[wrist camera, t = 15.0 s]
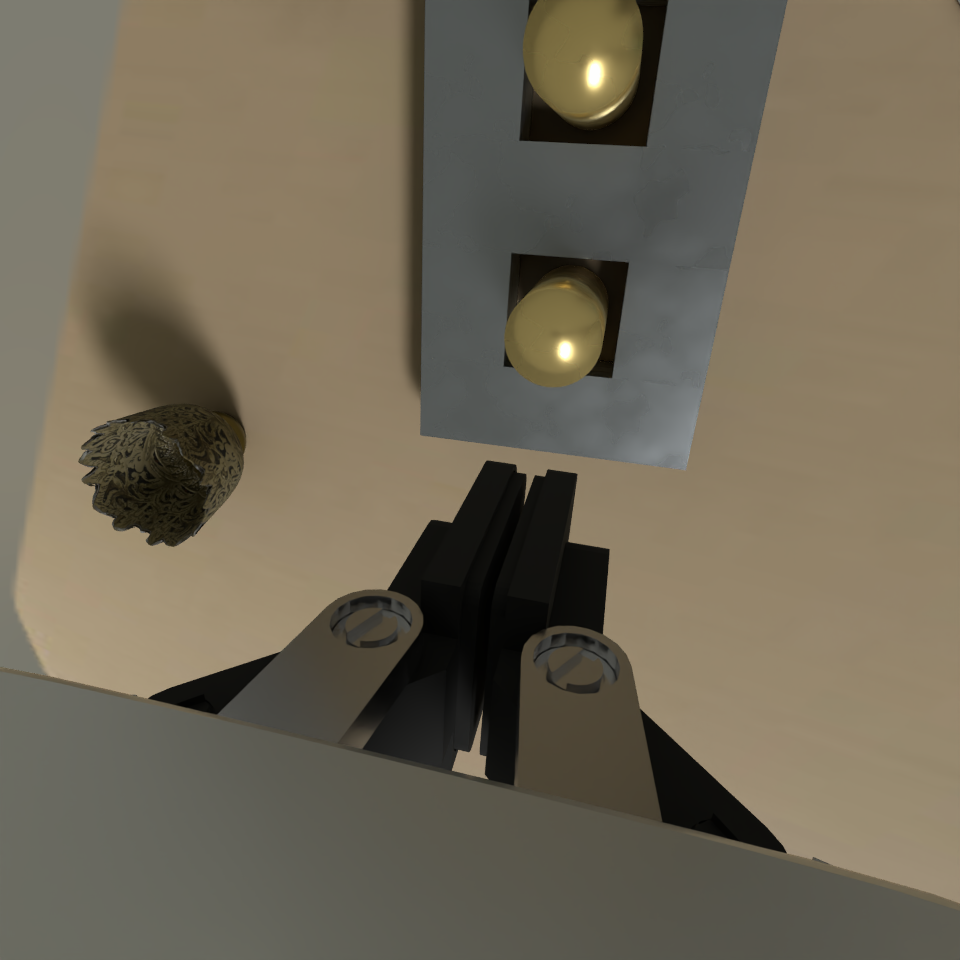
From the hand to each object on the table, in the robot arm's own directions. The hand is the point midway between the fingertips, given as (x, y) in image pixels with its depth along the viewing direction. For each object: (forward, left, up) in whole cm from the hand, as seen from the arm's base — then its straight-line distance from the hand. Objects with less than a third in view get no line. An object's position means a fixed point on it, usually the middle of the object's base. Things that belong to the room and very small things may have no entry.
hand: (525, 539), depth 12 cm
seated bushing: (+1, -10, -24) cm, 26 cm away
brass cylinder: (+1, 0, -24) cm, 24 cm away
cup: (+22, +10, -24) cm, 34 cm away
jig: (+1, -5, -24) cm, 24 cm away
